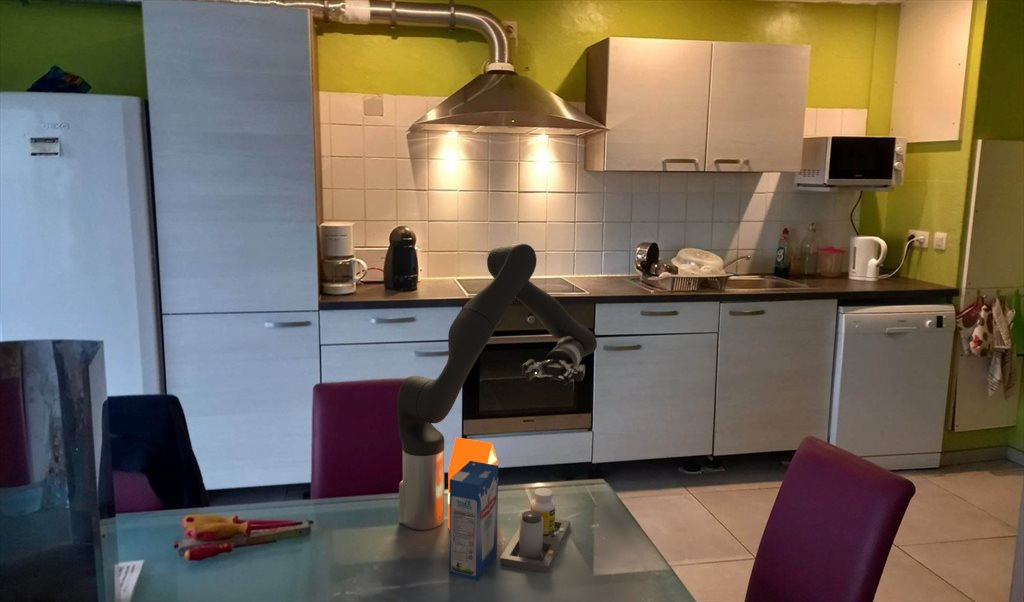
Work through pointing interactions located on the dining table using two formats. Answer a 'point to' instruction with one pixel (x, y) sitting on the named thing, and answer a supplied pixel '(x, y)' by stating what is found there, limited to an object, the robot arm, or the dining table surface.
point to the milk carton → (473, 520)
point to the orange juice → (468, 458)
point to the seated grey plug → (531, 535)
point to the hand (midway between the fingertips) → (546, 378)
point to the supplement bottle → (545, 509)
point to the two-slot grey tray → (548, 544)
